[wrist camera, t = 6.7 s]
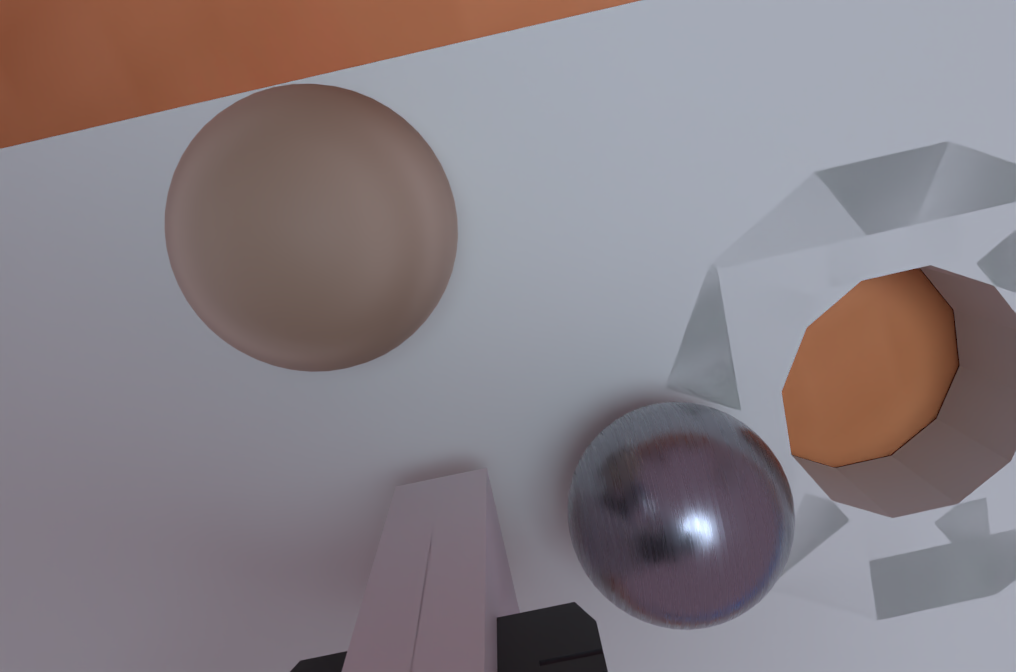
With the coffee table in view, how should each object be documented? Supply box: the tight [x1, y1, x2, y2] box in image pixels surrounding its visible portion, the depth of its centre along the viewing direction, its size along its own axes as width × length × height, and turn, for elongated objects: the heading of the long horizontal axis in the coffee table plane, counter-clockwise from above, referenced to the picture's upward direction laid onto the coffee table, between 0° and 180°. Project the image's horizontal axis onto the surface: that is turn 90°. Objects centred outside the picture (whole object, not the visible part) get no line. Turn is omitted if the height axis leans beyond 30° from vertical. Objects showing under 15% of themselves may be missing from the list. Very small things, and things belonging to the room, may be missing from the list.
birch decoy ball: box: [165, 84, 458, 372], centre depth 12 cm, size 4×4×4 cm
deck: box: [0, 0, 1016, 672], centre depth 16 cm, size 26×15×2 cm, turn 103°
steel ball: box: [567, 402, 795, 630], centre depth 13 cm, size 4×4×4 cm
